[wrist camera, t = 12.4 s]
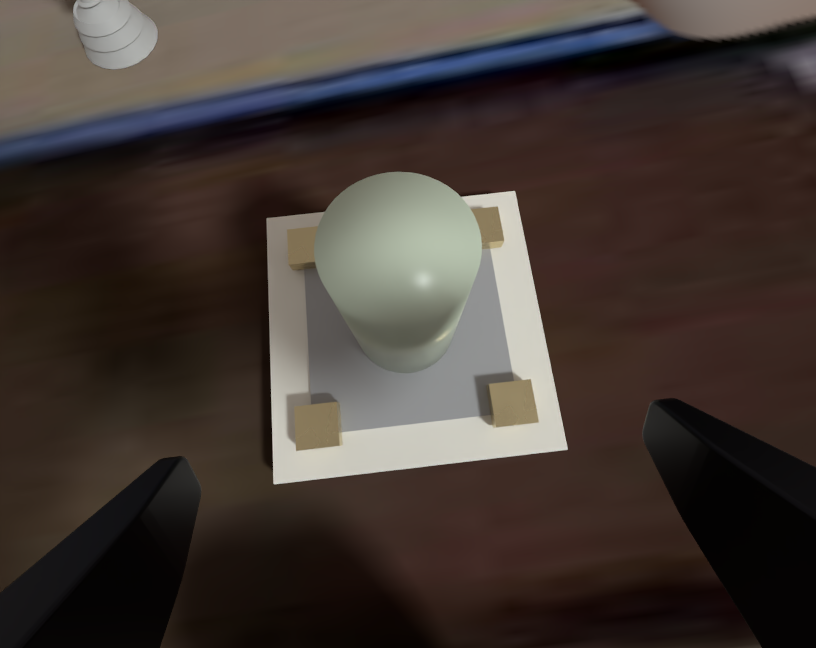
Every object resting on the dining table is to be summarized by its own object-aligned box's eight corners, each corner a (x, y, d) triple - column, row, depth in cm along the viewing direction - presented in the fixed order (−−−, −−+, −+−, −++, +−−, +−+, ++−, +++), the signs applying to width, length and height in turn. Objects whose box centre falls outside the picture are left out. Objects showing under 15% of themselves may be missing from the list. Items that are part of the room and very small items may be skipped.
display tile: (557, 448, 21) (575, 450, 18) (283, 480, 21) (266, 487, 18) (508, 205, 24) (519, 180, 22) (275, 231, 24) (259, 208, 22)
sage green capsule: (376, 388, 20) (347, 351, 11) (342, 299, 21) (292, 204, 13) (469, 350, 20) (510, 287, 12) (431, 265, 22) (441, 150, 13)
